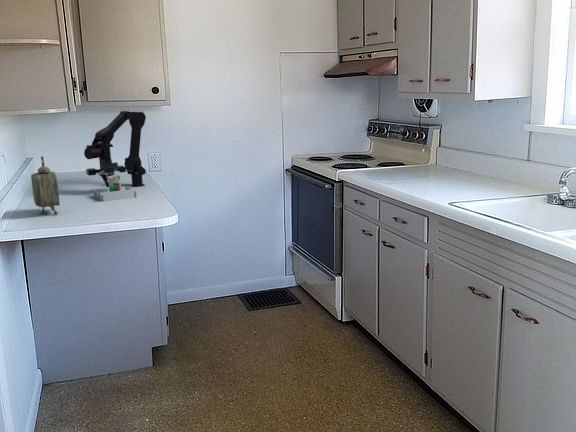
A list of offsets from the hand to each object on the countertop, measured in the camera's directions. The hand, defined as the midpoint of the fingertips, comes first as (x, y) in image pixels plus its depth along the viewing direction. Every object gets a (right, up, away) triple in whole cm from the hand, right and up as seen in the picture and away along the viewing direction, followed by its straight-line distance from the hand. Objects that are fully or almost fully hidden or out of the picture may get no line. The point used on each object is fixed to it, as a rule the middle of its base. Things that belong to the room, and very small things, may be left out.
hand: (107, 187), depth 294 cm
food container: (+7, -6, -11) cm, 14 cm away
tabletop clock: (-13, -14, -42) cm, 46 cm away
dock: (+7, -5, -10) cm, 13 cm away
